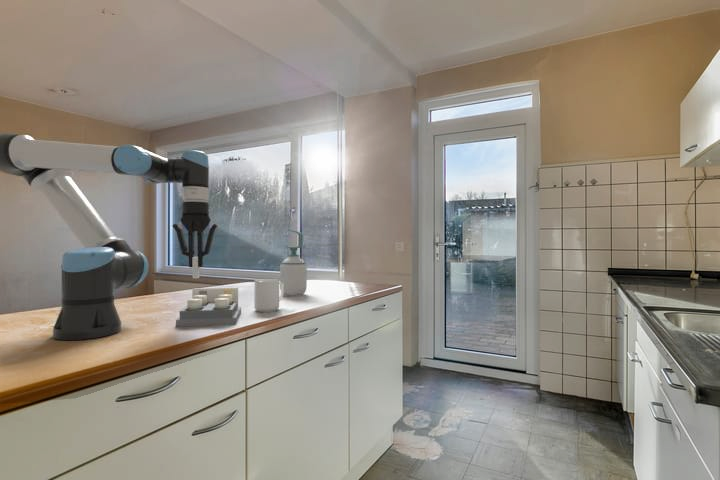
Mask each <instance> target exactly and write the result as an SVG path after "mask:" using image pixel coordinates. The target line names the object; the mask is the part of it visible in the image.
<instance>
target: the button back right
mask: <svg viewBox="0 0 720 480" xmlns="http://www.w3.org/2000/svg"><path fill="white" fill-rule="evenodd" d="M219 298H229V305H231V304H232V295H230V294H224V295H219Z"/></svg>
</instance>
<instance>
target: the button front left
mask: <svg viewBox="0 0 720 480" xmlns="http://www.w3.org/2000/svg"><path fill="white" fill-rule="evenodd" d="M186 300H187V301H186V302H187V303H186V306H187V310H201V309H202V299H192V298H188V299H186Z"/></svg>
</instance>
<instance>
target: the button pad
mask: <svg viewBox="0 0 720 480" xmlns="http://www.w3.org/2000/svg"><path fill="white" fill-rule="evenodd" d="M191 290H192V291H191V292H192V293H191V295H192V297H191V299H193V296H195V295H207V305H204V306H202V309H201V310H187V305H186V306H185V307H183V308H182V309H181V310H179V317H178V318H176V319H175V327H193V326H194V327H195V326H197V327H198V326H200V327H201V326H218V325H221V326H222V325H236V324H237V322H238V320H239V318H240V316H241V314H242V307H241V306H239V287H208V288H207V287H202V288H201V287H200V288H199V287H198V288H197V287H196V288H192V289H191ZM224 294H230V295H232V304H231V305H229V309H215V299H217V298H219V295H224Z"/></svg>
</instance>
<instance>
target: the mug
mask: <svg viewBox="0 0 720 480" xmlns="http://www.w3.org/2000/svg"><path fill="white" fill-rule="evenodd" d="M280 284H281V290H280ZM284 296H285V295H284V283H280V279H279V278H276V279H275V278H260V279H254V299H253V300H254V306H253V307H254V309H255V311H257V312H259V313H271V312H277V310H278V309H279V308H280V302H281V300H283V298H284Z"/></svg>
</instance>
